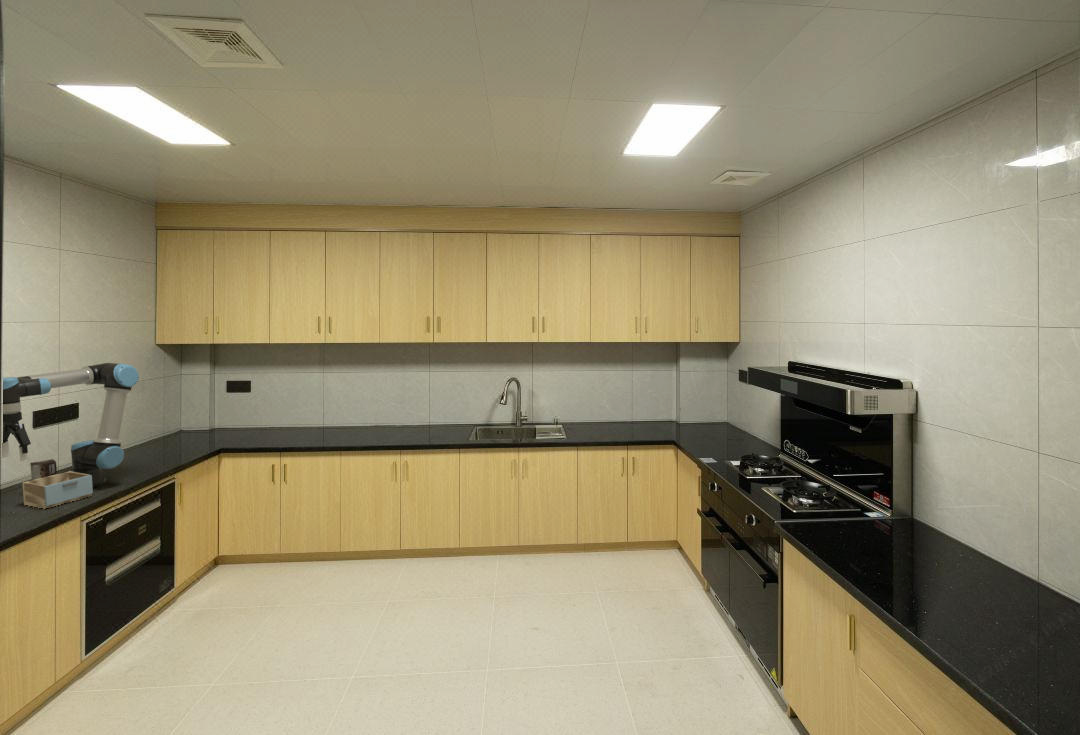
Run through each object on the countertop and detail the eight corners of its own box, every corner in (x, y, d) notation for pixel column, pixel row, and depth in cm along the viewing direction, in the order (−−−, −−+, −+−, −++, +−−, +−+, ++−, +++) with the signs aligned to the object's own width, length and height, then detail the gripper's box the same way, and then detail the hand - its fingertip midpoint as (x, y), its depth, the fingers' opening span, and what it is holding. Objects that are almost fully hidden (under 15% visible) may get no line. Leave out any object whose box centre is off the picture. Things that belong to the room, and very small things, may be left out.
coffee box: (55, 489, 291) (53, 458, 289) (59, 492, 287) (56, 461, 285) (32, 494, 284) (29, 462, 282) (35, 497, 280) (32, 464, 278)
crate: (71, 492, 287) (69, 471, 286) (91, 496, 282) (90, 474, 281) (24, 505, 268) (22, 482, 267) (44, 509, 263) (43, 486, 262)
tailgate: (91, 492, 282) (90, 474, 281) (94, 493, 281) (92, 475, 280) (45, 505, 263) (44, 486, 262) (48, 506, 262) (46, 487, 262)
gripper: (-18, 411, 255) (-13, 457, 258) (17, 416, 247) (22, 464, 249) (2, 408, 262) (7, 453, 265) (37, 412, 254) (42, 459, 256)
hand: (15, 458), depth 257 cm, fingers open, 13 cm apart
